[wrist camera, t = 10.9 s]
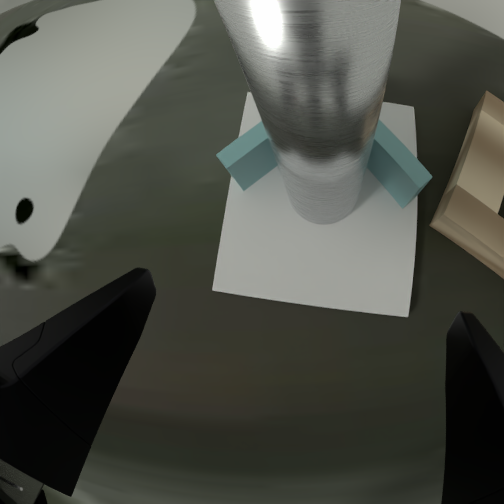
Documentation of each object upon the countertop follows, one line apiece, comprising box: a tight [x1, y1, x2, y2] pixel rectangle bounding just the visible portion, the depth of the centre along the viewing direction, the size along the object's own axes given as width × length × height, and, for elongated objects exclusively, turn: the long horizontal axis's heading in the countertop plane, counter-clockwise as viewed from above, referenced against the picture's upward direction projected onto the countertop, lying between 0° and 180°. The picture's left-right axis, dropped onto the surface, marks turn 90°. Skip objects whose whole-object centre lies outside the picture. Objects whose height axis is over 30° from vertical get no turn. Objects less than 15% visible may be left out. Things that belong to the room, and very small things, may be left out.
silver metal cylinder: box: [214, 0, 401, 225], centre depth 10 cm, size 4×4×15 cm
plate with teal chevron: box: [212, 92, 432, 317], centre depth 16 cm, size 13×11×4 cm
